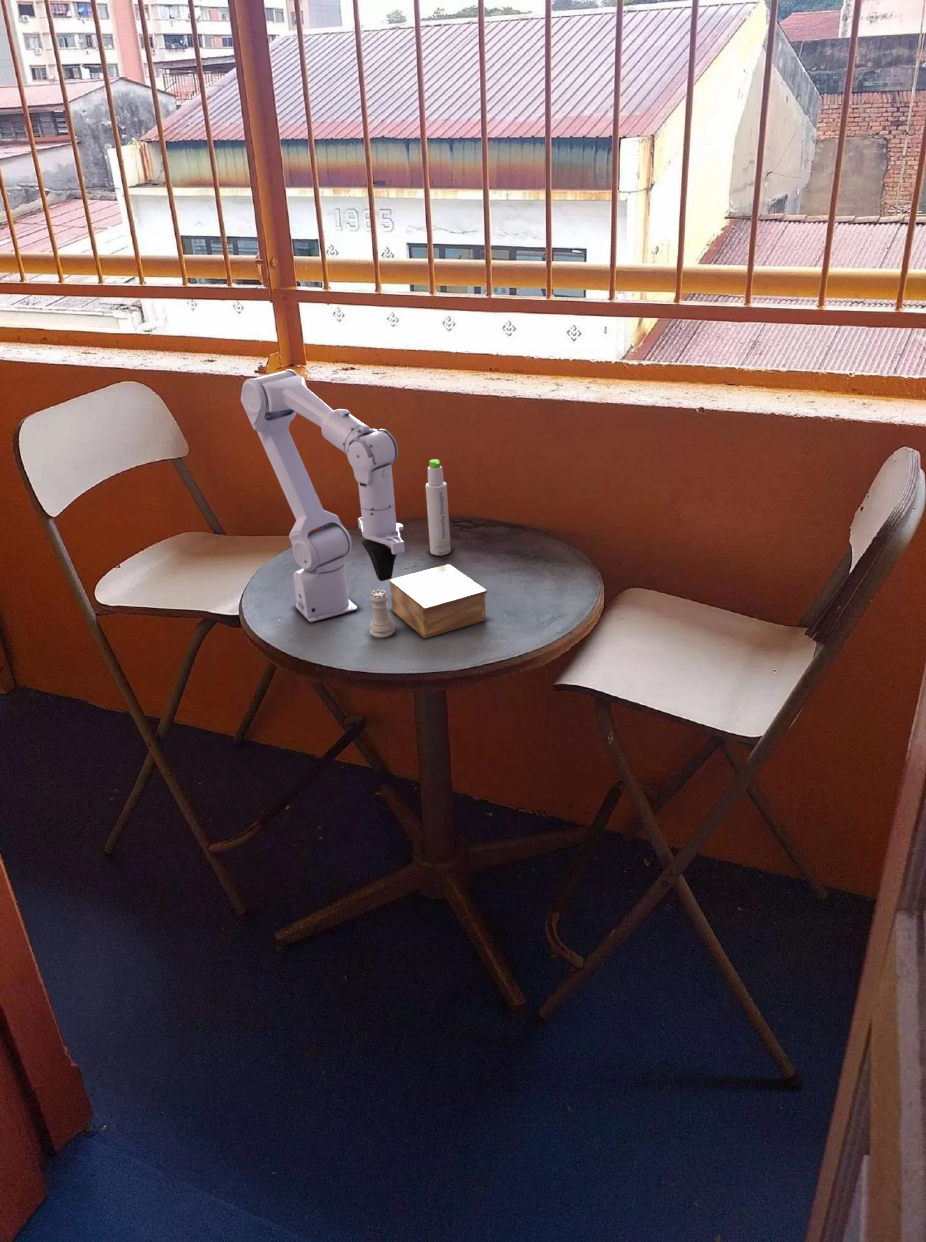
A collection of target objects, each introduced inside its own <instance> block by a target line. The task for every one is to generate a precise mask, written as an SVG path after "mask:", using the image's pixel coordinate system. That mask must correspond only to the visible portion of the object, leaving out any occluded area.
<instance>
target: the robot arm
mask: <svg viewBox="0 0 926 1242" xmlns="http://www.w3.org/2000/svg"><path fill="white" fill-rule="evenodd" d="M307 386H308V385H307V383H306V380H305V378H304V377H303V376H302V375H300V374H299V373H298V372H297V371H296V370H294V369H292V368H291V369H290V368H289V369H285V370H283V371H279V372H276V373H271V374H267V375H264V376H260V377H256V378H255V377H254V378H247V379H246V380H245V381H244V382H243V383H242V388H241V395H240V402H241V404H242V407H243V409H244V411H245V413H246V416H247V417H248V420H249V421H250V424H251V426H252V429H253V430H254V431H256V432H257V435H258V438H259V439H260V441H261V444H262V447H263V449H264V451H265V454H266V456H267V457H268V460H269V462H270V464H271V467H272V469H273V472H274V473H275V475H276V478H277V480H278V482H279V484H280V487H281V489H282V491H283V494H284V496H285V498H286V500H287V503H288V505H289V507H290V510H291V512H292V514H293V516H294V518H295V520H296V521H295V522H294V525H293V527H292V529H291V530H290V532H289V535H288V538H289V541H290V543H291V547H292V554H293V558H294V560H295V562H296V563H297V565H298V566H299V567H300V568H301V569H299V570H296V571H294V572H293V576H292V581H293V587H294V594H295V601H296V605H295V607H296V609H297V611H299V613H301V614H302V616H304V618H306V620H308V622H310V623H314V622H318V621H321V620H324V619H328V618H332V617H336V616H339V615H343V614H346V613H350V612H354V611H356V610H358V607H357V605H356V604H354V602H352V601H351V600H350V598H349V591H348V582H347V581H348V580H347V574H346V567H345V566H346V565H345V564H346V562H347V561H348V555H349V554H350V553H351V551H352V548H353V542H352V541H353V540H352V537H351V535H350V533H349V531H348V530H347V529H346V528H345V526H344V525H343V524H342V522H341V520H340V518H339V516H338V515H337V514H334V513H332V512H330V511H328V510H325V509H324V507H323V505H322V504H321V503H322V502H321V501H320V499H319V496H318V494H317V492H316V489H315V487H314V485H313V482H312V481H311V478H310V476H309V473H308V471H307V469H306V467H305V465H304V462H303V460H302V458H301V455H300V453H299V450H298V448H297V446H296V444H295V441H294V440H293V437H292V435H291V433H290V430H289V428H290V424H291V422H292V421H293V420H294V419H295V418H296V415H297V414H298V415H300V416H302V417H304V418H305V419H307V420H308V421H310V422H311V423H312V424H315V425H316V426H318V427H320V428H321V435H322V438H324V439H325V440H326V441H328V442H329V443H330V444H332V445H333V446H335V447H336V448H337V449H339V450H340V451H341V452H343V453H344V454H345V455H346V456H347V460H348V463H349V464H350V466H351V468H352V471H353V477H354V478H355V481H356V482H357V484H358V485H357V486H358V494H359V504H360V513H361V517H358V518H357V522H358V524H357V525H358V529H360V530H361V535H362V537H363V538H364V539H363V540H362V541H361V545H362V546H363V547H364V549H365V550H366V552H367V554H368V556H369V558H370V560H371V564H372V566H373V569H374V573H375V576H376V577H377V580H378V581H380V582H385V581H389V580H391V579H393V572H394V568H395V567H394V565H395V561H396V558H397V555H398V554H401V553H405V552H406V551H405V541H404V540H402V538H401V533H400V532H401V531H403V530H404V525H403V524H402V523H399V522H397V515H396V514H397V513H396V505H395V504H396V503H395V502H396V501H395V490H394V479H393V477H394V476H393V469H392V468H393V467H392V464H393V463H394V462H396V460H397V458H398V456H399V448H398V444H397V441H396V438H395V437H394V436H393V435H392V434H391V433H390V432H389V431H388V430H387V429H385V428H379V429H376V428H371V427H370V426H369V425H367V424H365V423H363V422H362V421H360V420H359V419H357V418H356V417H355V416H354V415H352V414H351V412H350V411H349V410H348V409H346V408H344V409H343V408H337V409H332V408H331V407H330V406H329V405H327V403H325V402H324V401H323V400H322V399H321V398H319V397H318V396H317V395H316V394H315V393H314V392H312V391H311V390H310V388H308V387H307ZM317 529H320V530H317ZM315 530H317V531H315ZM312 531H315V532H312ZM310 532H312V533H310Z"/></svg>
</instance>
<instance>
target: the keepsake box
mask: <svg viewBox="0 0 926 1242" xmlns="http://www.w3.org/2000/svg"><path fill="white" fill-rule="evenodd" d="M389 589H390V598H391V610H392V612H393V613H395V615H397V616H398V617H399V618H400V619H402V620H403V621H404V622H405V623H406V624H407V625H409V626H410V627H411V628H412V630H415V631H416V632H417V634H419V635H420V636H421V637H422V638H424V639H428V638H432V637H435V636H438V635H442V634H445V633H448V632H452V631H454V630H458V629H462V628H465V627H468V626H471V625H474V624H478V623H481V622H485V621H486V620H487V619H486V597H485V595H486V594H483V595H479V596H476V597H472V598H469V599H465V600H462V601H459V602H455V603H452V604H448V605H445V606H441V607H438V608H434V609H431V610H427V611H424V610H423V609H422V608H420V607H419V606H418V605H417V604H416V603H414V602H413V601H412V600H411V599H409V598H408V597H407V596H406V595H404V594H403V593H402V592H401V591H400V590H398V589H397V588H396V587H395V586H393V585H392V584H391V583H390V582H389Z"/></svg>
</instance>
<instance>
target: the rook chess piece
mask: <svg viewBox="0 0 926 1242" xmlns="http://www.w3.org/2000/svg"><path fill="white" fill-rule="evenodd" d="M388 599H389V595H388V594H387V592H386V590H384V589H381V591H380V589H376V590H373V591H371V594H370V597H369V600H370V601H371V602H372V604H371V607H372V609H373V610H372V611H373V614H372V615H373V616H372V620H371V623H370V624H369V629H370V630H369V634H370V635H371V636H372V637H374V638H377V639H384V638H385V639H386V638H389V637H391V636H392V635H393V634H394V633H395V631H396V630H395V623H394V622H393V621H392V619H391V617H390V616H389V612H388V606H389V604H388V602H387V600H388Z"/></svg>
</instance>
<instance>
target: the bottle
mask: <svg viewBox="0 0 926 1242" xmlns="http://www.w3.org/2000/svg"><path fill="white" fill-rule="evenodd" d="M428 462H429V466H427V482H426V483H425V497H426V498H425V499H426V510H427V524H428V525H427V527H428V537H429V551H430V553H431V555H433V556H445V555H448V554H450V553H451V551H452V550H451V532H450V518H449V502H448V500H449V499H448V484H447V482H445V481H444V471H443V466H442V465H441V461H440V460H439V459H437V458H433V459H430V460H429V461H428Z"/></svg>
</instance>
